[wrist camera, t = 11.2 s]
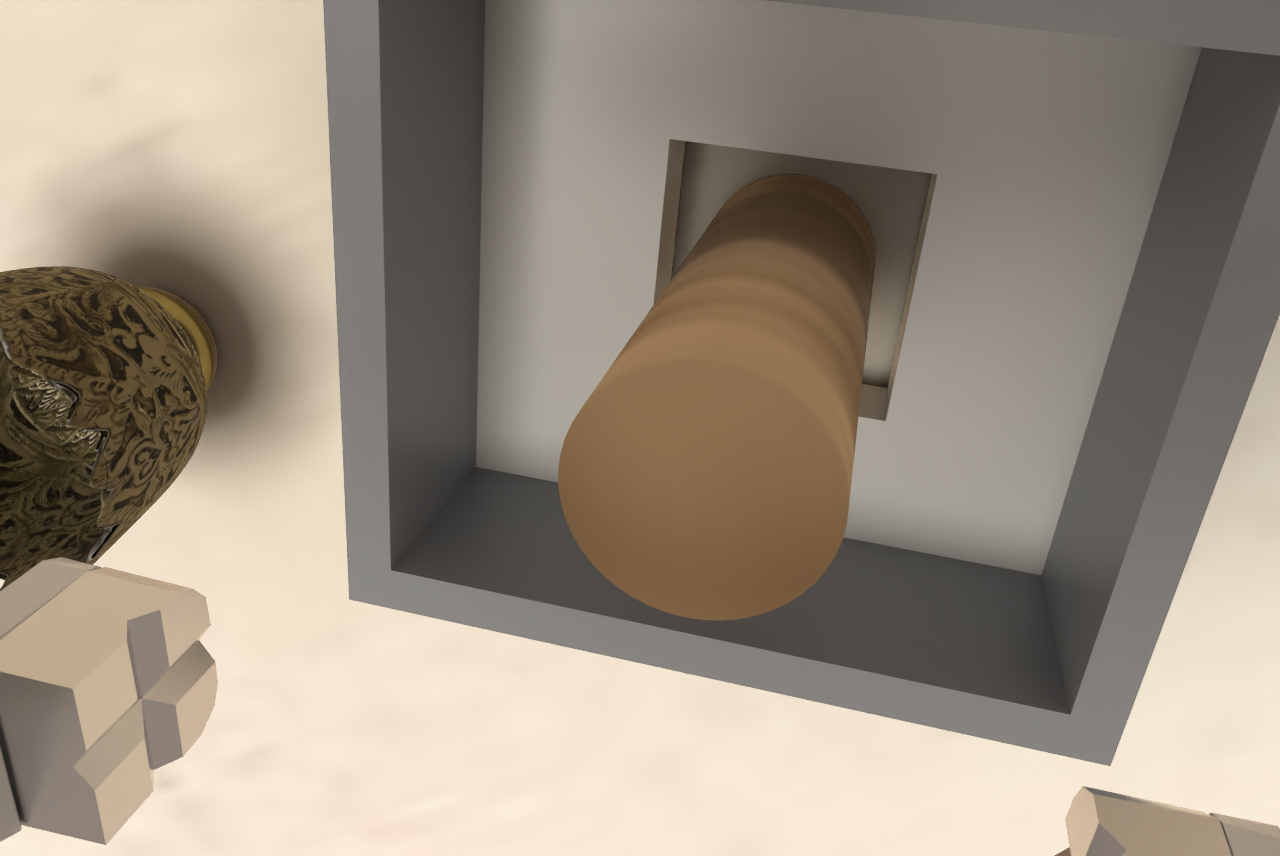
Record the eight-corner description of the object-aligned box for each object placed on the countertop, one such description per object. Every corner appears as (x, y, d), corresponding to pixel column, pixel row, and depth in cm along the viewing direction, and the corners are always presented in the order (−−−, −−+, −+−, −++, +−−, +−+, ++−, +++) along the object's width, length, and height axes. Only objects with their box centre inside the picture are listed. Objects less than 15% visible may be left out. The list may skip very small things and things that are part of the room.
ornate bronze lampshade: (297, 252, 28) (87, 359, 21) (284, 487, 31) (101, 648, 24) (47, 181, 29) (-236, 260, 22) (61, 417, 32) (-180, 552, 25)
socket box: (476, -101, 23) (318, -116, 17) (1252, -26, 20) (1400, -12, 14) (467, 459, 29) (349, 599, 23) (1063, 573, 27) (1110, 766, 20)
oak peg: (715, 163, 24) (566, 336, 14) (889, 187, 24) (874, 387, 13) (696, 325, 26) (551, 589, 15) (858, 351, 25) (822, 646, 15)
